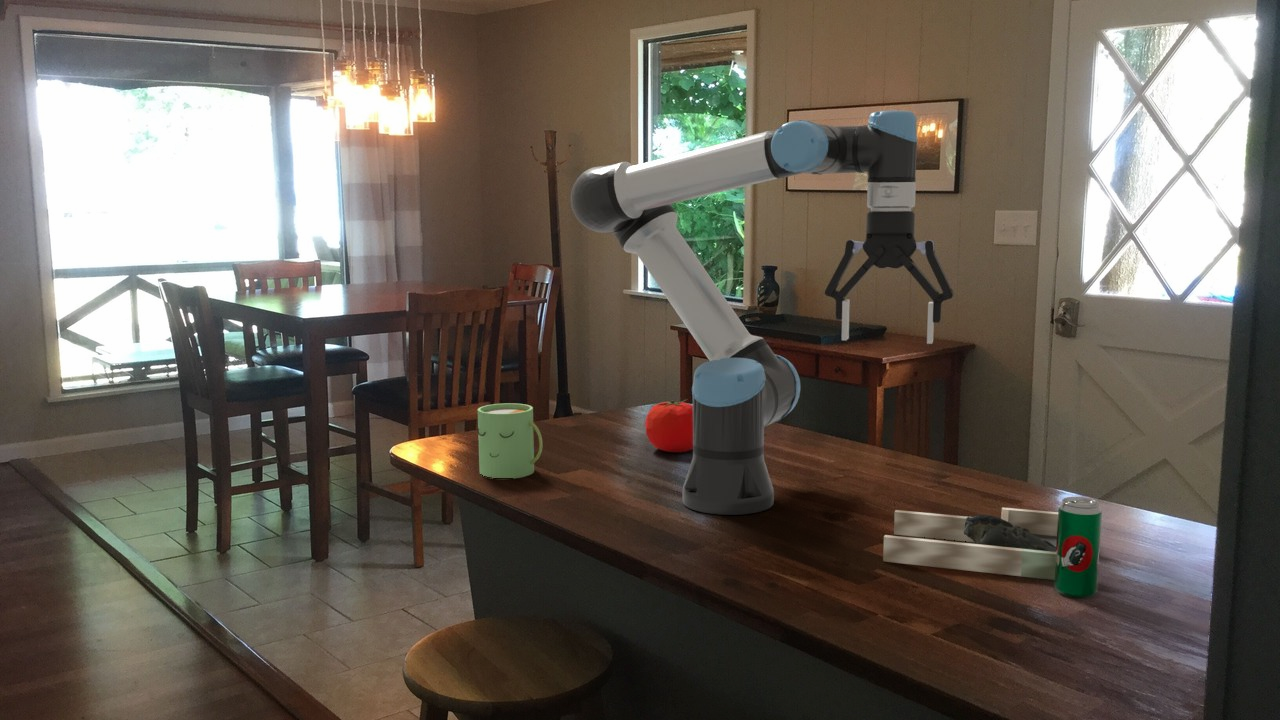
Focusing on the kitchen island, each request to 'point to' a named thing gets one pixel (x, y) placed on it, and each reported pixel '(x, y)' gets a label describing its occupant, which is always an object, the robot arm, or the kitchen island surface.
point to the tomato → (671, 426)
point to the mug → (507, 440)
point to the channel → (971, 554)
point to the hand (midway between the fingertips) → (887, 341)
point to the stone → (1003, 534)
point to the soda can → (1077, 547)
